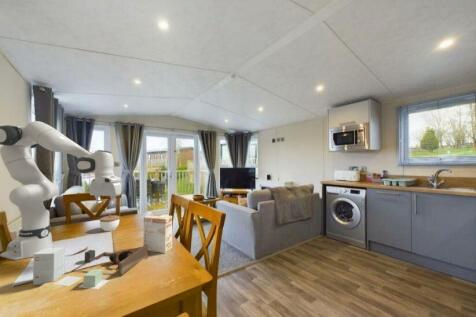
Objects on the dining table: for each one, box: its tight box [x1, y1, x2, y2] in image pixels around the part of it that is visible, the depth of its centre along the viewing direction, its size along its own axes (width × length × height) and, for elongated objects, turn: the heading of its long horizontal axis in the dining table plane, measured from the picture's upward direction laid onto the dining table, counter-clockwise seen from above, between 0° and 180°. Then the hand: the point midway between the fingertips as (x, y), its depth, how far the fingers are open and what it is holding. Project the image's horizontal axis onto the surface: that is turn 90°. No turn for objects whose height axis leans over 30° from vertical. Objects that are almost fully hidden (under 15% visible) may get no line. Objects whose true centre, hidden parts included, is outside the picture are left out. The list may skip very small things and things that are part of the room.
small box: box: [32, 246, 66, 286], centre depth 86 cm, size 8×6×13 cm
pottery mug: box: [108, 249, 134, 269], centre depth 98 cm, size 12×10×8 cm
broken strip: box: [52, 275, 110, 290], centre depth 83 cm, size 21×6×1 cm, turn 82°
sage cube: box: [83, 268, 103, 287], centre depth 82 cm, size 4×4×4 cm
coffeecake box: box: [142, 213, 173, 254], centre depth 117 cm, size 15×7×20 cm, turn 74°
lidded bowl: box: [99, 214, 121, 232], centre depth 149 cm, size 13×13×11 cm
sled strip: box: [69, 245, 149, 277], centre depth 99 cm, size 27×19×7 cm
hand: (105, 203), depth 111 cm, fingers open, 8 cm apart
